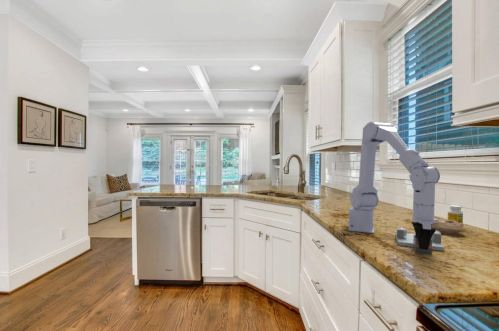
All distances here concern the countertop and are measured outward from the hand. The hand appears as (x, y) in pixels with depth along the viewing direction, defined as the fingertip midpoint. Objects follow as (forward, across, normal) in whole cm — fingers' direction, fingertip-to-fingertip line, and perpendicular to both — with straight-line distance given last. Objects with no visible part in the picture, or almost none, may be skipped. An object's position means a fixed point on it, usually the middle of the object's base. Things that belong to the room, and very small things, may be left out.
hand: (422, 246), depth 88 cm
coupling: (+1, 0, 0) cm, 1 cm away
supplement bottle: (+2, +44, -18) cm, 47 cm away
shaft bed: (+1, +10, 0) cm, 11 cm away
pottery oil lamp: (+2, +32, -12) cm, 34 cm away
